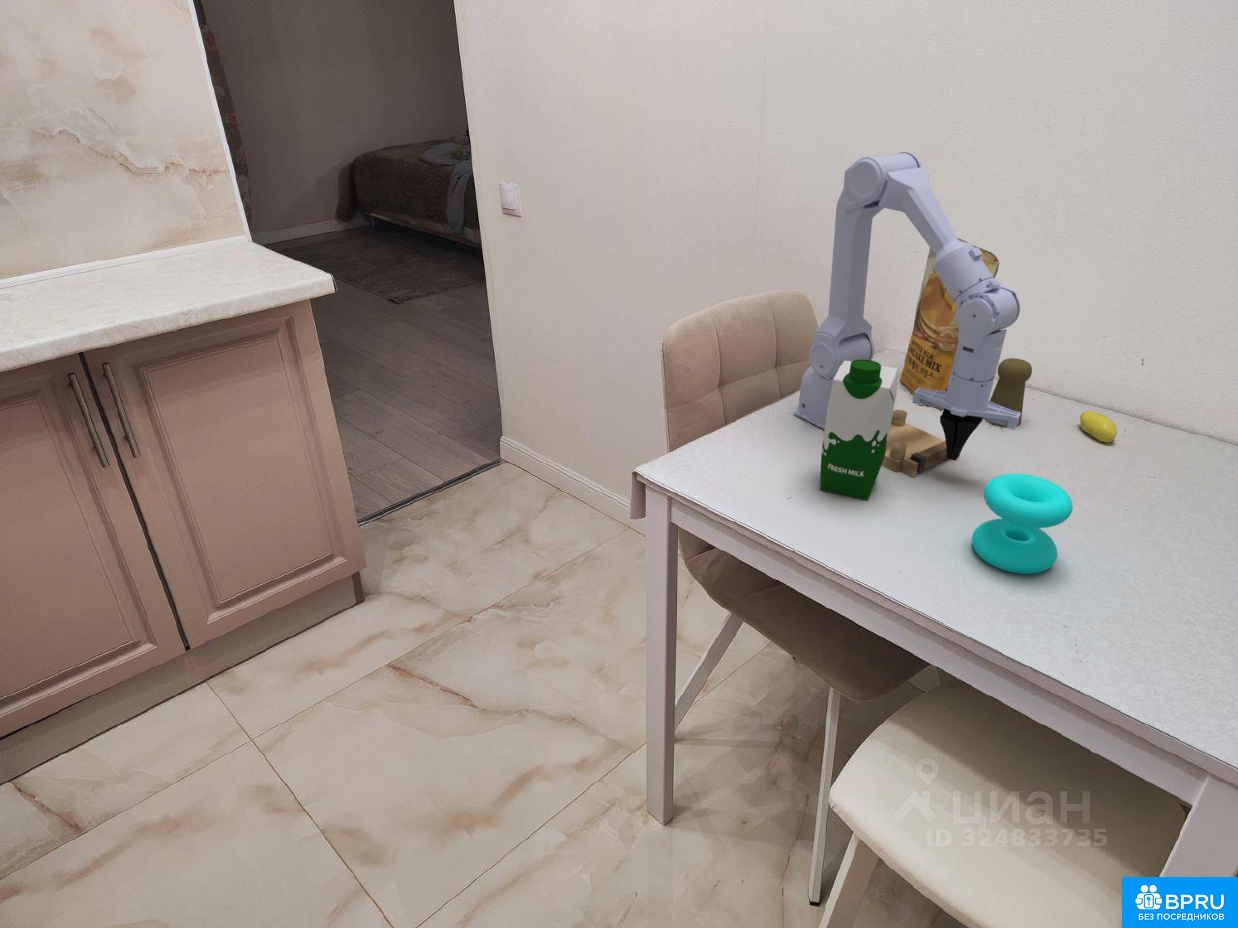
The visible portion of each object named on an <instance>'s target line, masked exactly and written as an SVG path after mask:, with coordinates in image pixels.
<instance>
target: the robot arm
mask: <svg viewBox="0 0 1238 928" xmlns="http://www.w3.org/2000/svg"><path fill="white" fill-rule="evenodd" d="M884 209H887V210H891V211H897V212H902V213H904V214H905V216H906V217H907V219H908V220H909V221H910V222H911V224H912V225H913V226H914V228H915V229H916V230H917V232H918V233H919V234H920V236H921V237H922V239H923V240H924V242H925V243H926V244H927V246H928V247H929V249H930V248H931V249H932V251H933V252H934V253H935V255H936V258H935V262H934V267H933V268H934V270H935V272H936V273H937V275H938V277H939V278H940V280H941V281H942V283H943V284H944V286H945V288H946V289H947V291H948V292H949V294H950V296H951V297H952V299H953V300H954V302H955V304H956V305H957V307H958V308H959V309H957V310H956V313H955V318H956V323H957V325H958V328H959V336H958V340H959V341H958V346H957V350H956V354H955V359H954V363H953V368H952V372H951V376H950V381H949V384H948V388H947V392H946V391H938V390H930V389H924V388H918V389H917V390H916V391H915V392H914V394H913V397H912V402H911V403H912V404H915V405H921V404H922V405H925V406H926V405H929V406H928V407H932V406H933V408H937V409H939V408H940V409H939V410H941V409H943V410H942V413H941V415H940V417H939V422H940V425H941V428H942V430H943V434H944V437H945V438H944V439H945V441H946V449H947V456H946V458H947V459H946V460H951V461H954V462H956V461H957V460H958V459H959V457H960V455H961V452H962V450H963V449H964V446H965V445H966V443H967V442H968V440H969V438H970V437H971V435H972V433H973V432H974V431H976V429H977V428H978V427H979V426H980V425H981V423H982V422H983V421H985V420H987V421H990V422H994V423H998V424H1002V425H1006V426H1007V429H1010V430H1015V429H1016V428H1017V427H1018V426H1017V425H1018V422H1019V418H1020V415H1021V413H1020V412H1016V411H1013V410H1010V409H1007V408H1005V407H1002V406H1000V405H997V404H995V403H992V402H990V398H991V397H990V396H991V391H992V389H993V385H994V381H995V377H996V374H997V371H998V366H999V364H1000V363H999V362H1000V359H1001V354H1002V350H1003V347H1004V342H1005V339H1006V335H1007V328H1009V327H1011V326H1013V324H1014V323H1016V322H1017V320H1018V318H1019V316H1020V314H1021V303H1020V300H1019V298H1018V297H1017V293H1016V291H1014V290H1013V289H1012V288H1010V287H1008V286H1005V285H1002V284H1001V283H1000V281H999V280H998V279H997V278H995V279H994V277H993V276H992V274H991V273H990V271H989V269H988V268H987V266H986V265H985V263H984V262H983V260H982V259H981V256H982V255H983V254H982V252H981V251H980V249H979V248H980V247H979V248H974V246H975V245H974V244H973V243H971V242H968V243H966V242H967V241H966V242H961V241H959V240H958V238H959V237H957V234H956V233H955V231H954V230H953V228H952V226H951V223H950V221H949V220H948V218H947V216H946V214H945V213H944V211H943V209H942V207H941V205H940V204H939V201H938V200H937V198H936V196H935V195H934V192H933V190H932V189H931V186H930V174H929V172H928V170H927V169H926V168H925V167H923V165H922V162H921V160H920V158H919V157H918V156H917V155H916V154H914V153H913V152H911V151H902V152H898V153H894V154H893V153H892V154H886V155H878V156H877V155H876V156H870V155H868V156H863V157H861V158H859V159H857V160H856V161H855V162H853V164H851V165H850V166H849V167H848V168H847V169H845V171H844V179H843V189H842V191H841V193H840V195H839V198H838V200H837V203H836V208H835V221H834V223H835V224H834V235H833V247H832V248H833V249H832V260H831V261H832V263H831V275H830V276H831V277H830V291H829V302H828V304H829V305H828V316H827V317H826V319H825V320H824V321H823V322H822V323H821V324H820V325H819V326H818V327H817V329H816V330H815V332H814V340H813V341H812V345H811V346H810V349H809V353H808V354H809V355H808V358H809V363H810V366H808V368H807V369H806V370H805V372H804V374H803V375H802V377H801V382H800V388H799V395H798V396H799V397H798V406H797V410H795V411H794V412H793V414H794V415H795V416H797V417H799V418H801V419H803V420H805V421H807V422H809V423H811V424H812V425H815V426H816V427H819V428H820V429H823V430H824V431H825V424H826V416H827V409H828V403H829V398H830V394H831V387H832V382H833V379H834V377H835V375H836V373H837V371H838V369H839V367H840V366H841V365H842V364H843V362H844V361H851V362H852V361H854V360H859V359H866V360H872V361H873V358H874V356H875V355H874V354H875V345H874V341H873V337H872V331H873V330H872V326H873V325H871V324H870V322H869V321H868V320H867V319H866V318H865V317H864V313H865V312H864V311H865V301H866V291H867V289H866V288H867V282H868V281H867V280H868V279H867V278H868V271H869V270H868V269H869V257H870V249H871V238H872V228H873V227H872V226H873V219H874V217H876V216H877V215H878V214H879V213H880V212H881V211H882V210H884ZM973 245H974V246H973ZM1016 426H1017V427H1016Z"/></svg>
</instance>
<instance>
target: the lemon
mask: <svg viewBox="0 0 1238 928" xmlns="http://www.w3.org/2000/svg"><path fill="white" fill-rule="evenodd" d="M1079 419H1080V428H1081V429H1082V430H1083V431H1084V432H1086V433H1088V435H1090V436H1091V437H1094V438H1095V439H1097V440H1098V441H1099V442H1102V443H1110V442H1112V441H1113V440H1115V438H1116V437H1117V435H1118V434H1117V432H1118V431H1117V427H1116V424H1115V422H1113V420H1112V419H1110V418H1109V417H1108V416H1107V415H1105V414H1103V413H1100V412H1097V411H1095V410H1094V411H1093V410H1086V411H1083V412H1082V413H1081V414H1080V417H1079Z"/></svg>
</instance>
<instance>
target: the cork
mask: <svg viewBox="0 0 1238 928" xmlns="http://www.w3.org/2000/svg"><path fill="white" fill-rule="evenodd" d="M1032 373H1033V366H1032V365H1031V363H1029V362H1028V361H1027V360H1024V359H1020V358H1014V357H1013V358H1012V357H1010V358H1005V359H1003V360H1002V361H1001V362H1000V363H998V366H997V375H998V380H997V382H996V384H995V386H994V390H993V391H992V394H991V397H990V398H989V401H990V402H992V403H995V404H997V405H1000V406H1002V407H1005V408H1007V409H1010V410H1013V411H1016V412H1020V413H1021V415H1020V418H1019V422H1018V425H1017V426H1016V428H1017V427H1019V426H1021V424H1022V416H1023V408H1024V406H1023V405H1024V397H1025V390H1026V382H1028V381H1029V379H1030V378H1031V376H1032ZM984 421H985V422H986V423H988V424H991V425H993V426H996V427H999V428H1007V426H1006V425H1002V424H998V423H994V422H990V421H987V420H984ZM1007 429H1008V428H1007Z"/></svg>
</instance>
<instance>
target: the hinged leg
mask: <svg viewBox="0 0 1238 928" xmlns="http://www.w3.org/2000/svg"><path fill="white" fill-rule="evenodd" d="M946 456H947V449H946V440H944V442H942V443H939V444H937V445H935V446H932V447H930V448H928V449H926V450H923V451H921V452H919V453H917V452H916V453H914V454H912V455H911V460H913V461H915V462H917V463H919V464H918V469H917V474H919V473H922V472H924V471H925V470H926V469H928V468H930V467H932V466H934V465H935V466H936V465H937V464H939V463H941V462H944V461H946V460H948V459H947V458H946Z"/></svg>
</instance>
